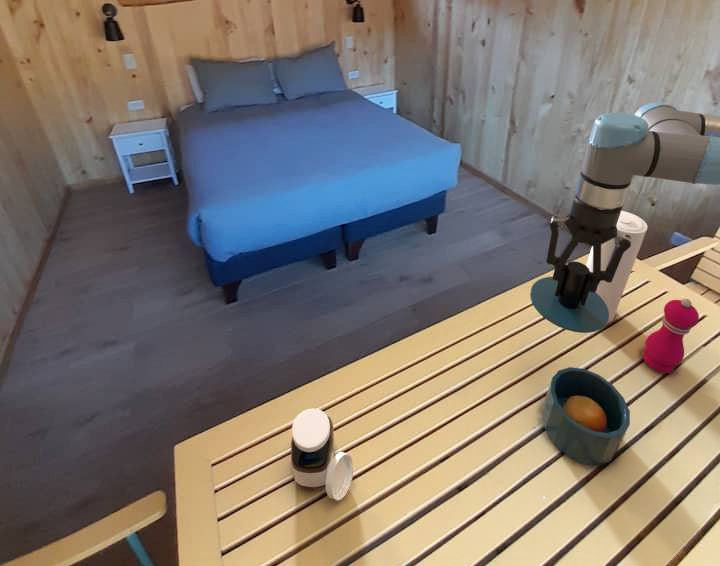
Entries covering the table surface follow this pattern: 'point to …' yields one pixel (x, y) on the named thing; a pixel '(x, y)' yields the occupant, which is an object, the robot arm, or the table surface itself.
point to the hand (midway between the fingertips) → (570, 296)
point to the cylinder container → (615, 289)
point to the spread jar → (319, 455)
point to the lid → (570, 301)
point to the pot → (575, 437)
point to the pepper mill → (670, 336)
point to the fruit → (586, 413)
